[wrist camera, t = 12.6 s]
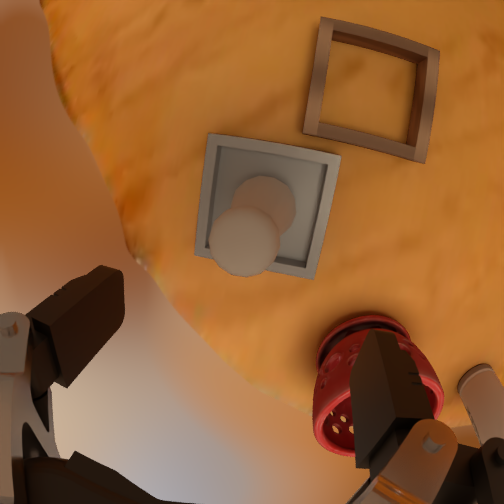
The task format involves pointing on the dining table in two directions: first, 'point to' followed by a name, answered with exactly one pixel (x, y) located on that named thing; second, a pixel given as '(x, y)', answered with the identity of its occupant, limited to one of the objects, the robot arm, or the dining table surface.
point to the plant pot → (338, 376)
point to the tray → (283, 169)
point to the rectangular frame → (389, 45)
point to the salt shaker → (252, 226)
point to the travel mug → (483, 401)
